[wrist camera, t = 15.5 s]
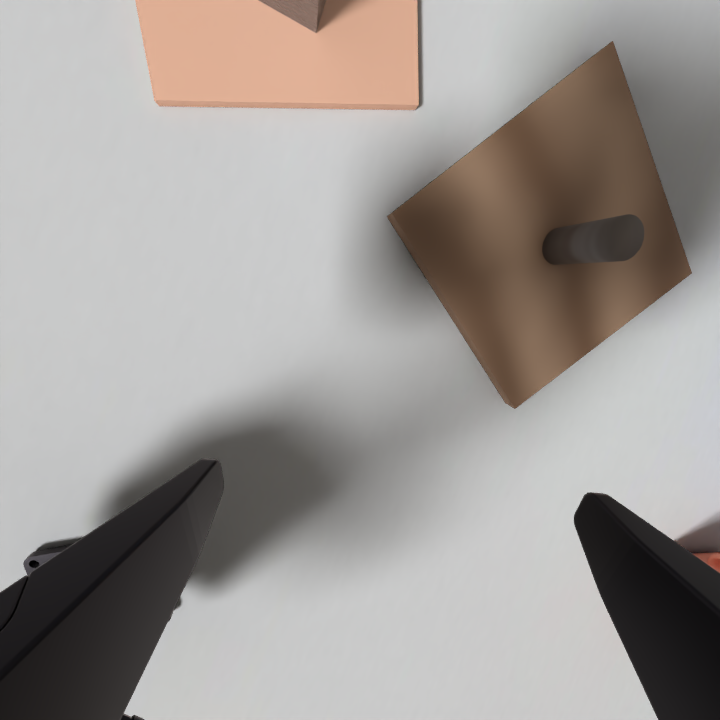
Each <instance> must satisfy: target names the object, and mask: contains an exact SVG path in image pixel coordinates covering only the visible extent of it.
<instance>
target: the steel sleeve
mask: <svg viewBox="0 0 720 720" xmlns="http://www.w3.org/2000/svg"><path fill="white" fill-rule="evenodd" d="M259 1H260V2H262V3H264V4H266V5H267V6H269V7H271V8H273V9H274V10H276V11H278V12H280V13H281V14H283V15H285V16H287V17H288V18H290V19H292V20H294V21H295V22H297V23H299V24H301V25H303V26H304V27H306V28H308V29H310V30H311V31H313V32H315V33H317V29H318V26H319V22H320V19H321V16H322V12H323V9H324V5H325V2H326V0H259Z"/></svg>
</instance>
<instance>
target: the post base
mask: <svg viewBox="0 0 720 720" xmlns="http://www.w3.org/2000/svg"><path fill="white" fill-rule="evenodd" d="M387 218H388V219H389V221H390V222H391V224H392V225H393V227H394V229H395V230H396V232H397V233H398V235H399V236H400V238H401V240H402V241H403V243H404V244H405V246H406V247H407V249H408V251H409V252H410V254H411V255H412V257H413V258H414V260H415V262H416V263H417V265H418V266H419V268H420V269H421V271H422V273H423V274H424V276H425V277H426V279H427V280H428V282H429V284H430V285H431V287H432V288H433V290H434V291H435V293H436V295H437V296H438V298H439V299H440V301H441V302H442V304H443V306H444V307H445V309H446V310H447V312H448V313H449V315H450V317H451V318H452V320H453V321H454V323H455V324H456V326H457V328H458V329H459V331H460V332H461V334H462V335H463V337H464V339H465V340H466V342H467V343H468V345H469V346H470V348H471V350H472V351H473V353H474V354H475V356H476V357H477V359H478V361H479V362H480V364H481V365H482V367H483V369H484V370H485V372H486V373H487V375H488V376H489V378H490V380H491V381H492V383H493V384H494V386H495V387H496V389H497V391H498V392H499V394H500V395H501V397H502V398H503V400H504V402H505V403H506V404H508V405H509V406H511V407H513V408H514V409H515V408H517V407H518V406H519V405H521V404H522V403H523V402H524V401H526V400H527V399H528V398H530V397H531V396H532V395H534V394H535V393H536V392H538V391H539V390H540V389H541V388H543V387H544V386H545V385H547V384H548V383H549V382H551V381H552V380H553V379H554V378H556V377H557V376H558V375H560V374H561V373H562V372H564V371H565V370H566V369H568V368H569V367H570V366H571V365H573V364H574V363H575V362H577V361H578V360H579V359H581V358H582V357H583V356H584V355H586V354H587V353H588V352H590V351H591V350H592V349H594V348H595V347H596V346H598V345H599V344H600V343H601V342H603V341H604V340H605V339H607V338H608V337H609V336H611V335H612V334H613V333H614V332H616V331H617V330H618V329H620V328H621V327H622V326H624V325H625V324H626V323H628V322H629V321H630V320H631V319H633V318H634V317H635V316H637V315H638V314H639V313H641V312H642V311H643V310H644V309H646V308H647V307H648V306H650V305H651V304H652V303H654V302H655V301H656V300H657V299H659V298H660V297H661V296H663V295H664V294H665V293H667V292H668V291H669V290H671V289H672V288H673V287H674V286H676V285H677V284H678V283H680V282H681V281H682V280H684V279H685V278H686V277H687V276H689V275H690V274H691V273H692V272H691V269H690V266H689V263H688V260H687V257H686V255H685V252H684V249H683V246H682V243H681V240H680V237H679V234H678V231H677V228H676V225H675V222H674V219H673V216H672V213H671V210H670V208H669V205H668V202H667V199H666V196H665V193H664V190H663V187H662V184H661V181H660V178H659V175H658V172H657V169H656V166H655V163H654V161H653V158H652V155H651V152H650V149H649V146H648V143H647V140H646V137H645V134H644V131H643V128H642V125H641V122H640V119H639V116H638V114H637V111H636V108H635V105H634V102H633V99H632V96H631V93H630V90H629V87H628V84H627V81H626V78H625V75H624V72H623V69H622V67H621V64H620V61H619V58H618V55H617V52H616V49H615V46H614V43H613V41H612V42H611V43H609V44H608V45H607V46H605V47H604V48H603V49H601V50H600V51H599V52H598V53H596V54H595V55H594V56H592V57H591V58H590V59H588V60H587V61H586V62H585V63H583V64H582V65H581V66H580V67H578V68H577V69H576V70H574V71H573V72H572V73H571V74H569V75H568V76H567V77H565V78H564V79H563V80H562V81H560V82H559V83H558V84H556V85H555V86H554V87H553V88H551V89H550V90H549V91H547V92H546V93H545V94H544V95H542V96H541V97H540V98H538V99H537V100H536V101H535V102H533V103H532V104H531V105H529V106H528V107H527V108H526V109H524V110H523V111H522V112H520V113H519V114H518V115H517V116H515V117H514V118H513V119H511V120H510V121H509V122H508V123H506V124H505V125H504V126H503V127H501V128H500V129H499V130H497V131H496V132H495V133H494V134H492V135H491V136H490V137H488V138H487V139H486V140H485V141H483V142H482V143H481V144H479V145H478V146H477V147H476V148H474V149H473V150H472V151H470V152H469V153H468V154H467V155H465V156H464V157H463V158H461V159H460V160H459V161H458V162H456V163H455V164H454V165H452V166H451V167H450V168H449V169H447V170H446V171H445V172H443V173H442V174H441V175H440V176H438V177H437V178H436V179H434V180H433V181H432V182H431V183H429V184H428V185H427V186H426V187H424V188H423V189H422V190H420V191H419V192H418V193H417V194H415V195H414V196H413V197H411V198H410V199H409V200H408V201H406V202H405V203H404V204H402V205H401V206H400V207H399V208H397V209H396V210H395V211H393V212H392V213H391V214H390V215H388V216H387Z"/></svg>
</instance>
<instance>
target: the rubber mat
mask: <svg viewBox="0 0 720 720" xmlns="http://www.w3.org/2000/svg"><path fill="white" fill-rule="evenodd" d="M135 1H136V6H137V11H138V16H139V22H140V27H141V32H142V37H143V43H144V48H145V53H146V58H147V64H148V69H149V74H150V79H151V85H152V90H153V95H154V100H155V102H156V103H157V104H158V105H159V106H183V107H250V108H317V109H384V110H416V108H417V107H418V105H419V91H418V16H417V0H326V2H325V5H324V9H323V12H322V16H321V19H320V22H319V26H318V29H317V33H315V32H313V31H311V30H310V29H308V28H306V27H304V26H303V25H301V24H299V23H297V22H295V21H294V20H292V19H290V18H288V17H287V16H285V15H283V14H281V13H280V12H278V11H276V10H274V9H273V8H271V7H269V6H267V5H266V4H264V3H262V2H260V1H259V0H135Z"/></svg>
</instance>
